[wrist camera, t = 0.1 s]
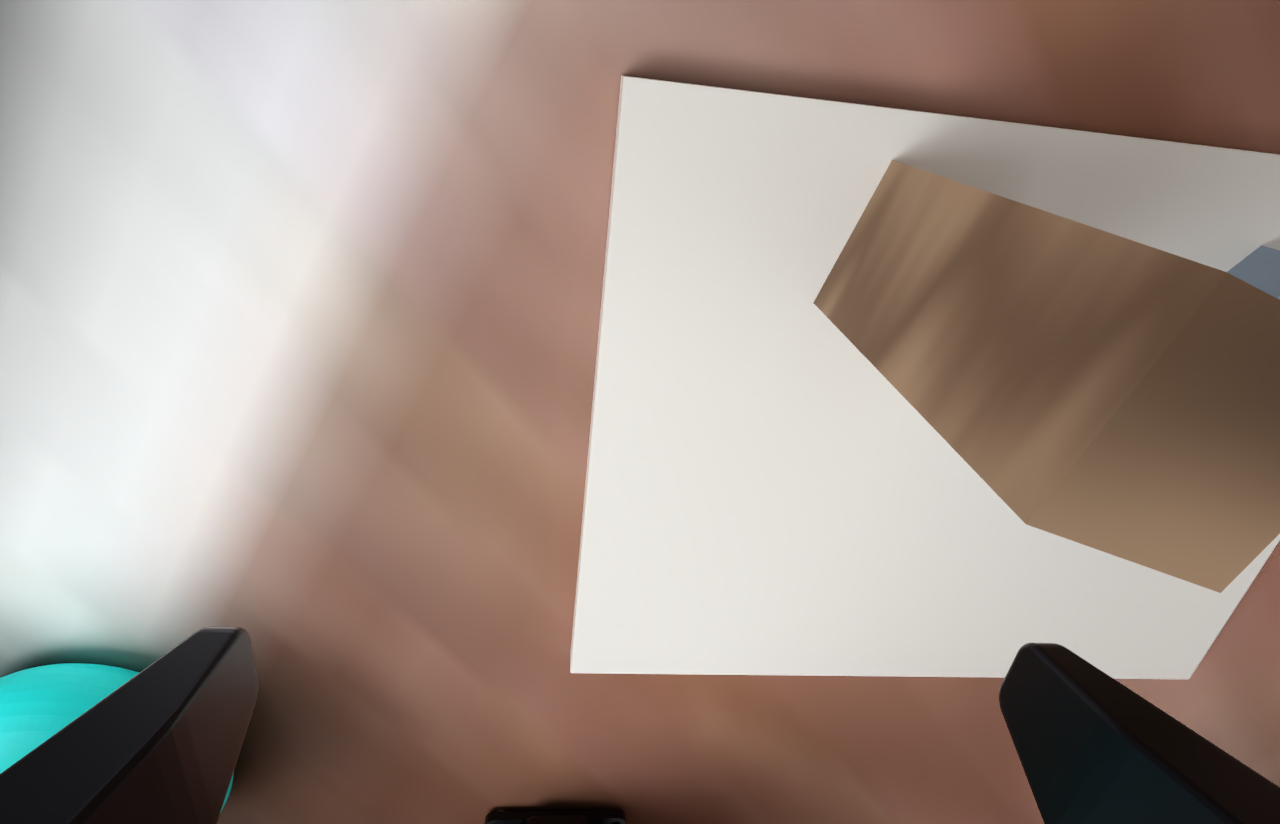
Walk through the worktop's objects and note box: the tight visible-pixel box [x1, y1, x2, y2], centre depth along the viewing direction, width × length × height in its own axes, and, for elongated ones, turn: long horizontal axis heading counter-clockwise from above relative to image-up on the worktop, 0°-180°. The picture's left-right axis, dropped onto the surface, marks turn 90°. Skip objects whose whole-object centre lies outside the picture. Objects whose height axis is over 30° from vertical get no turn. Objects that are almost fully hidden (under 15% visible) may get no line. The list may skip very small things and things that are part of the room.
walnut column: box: [813, 160, 1280, 593], centre depth 16 cm, size 4×4×11 cm
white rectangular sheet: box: [570, 75, 1280, 679], centre depth 24 cm, size 21×27×1 cm
